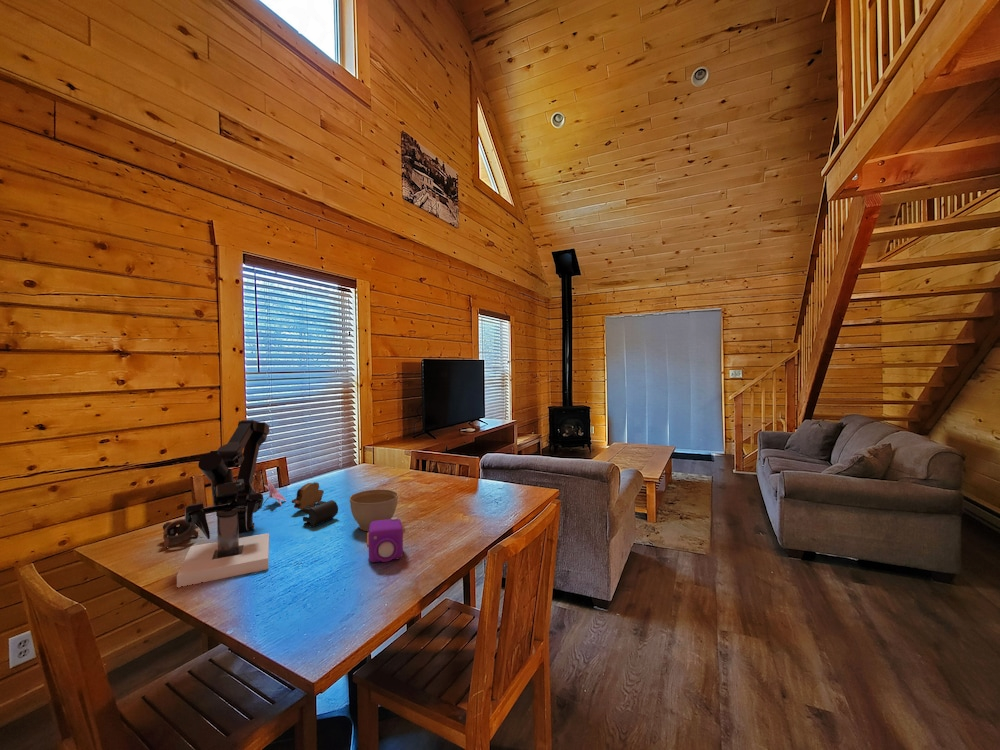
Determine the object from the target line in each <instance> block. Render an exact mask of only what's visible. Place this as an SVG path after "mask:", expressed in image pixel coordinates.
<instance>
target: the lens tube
mask: <svg viewBox="0 0 1000 750" xmlns="http://www.w3.org/2000/svg"><path fill="white" fill-rule="evenodd" d="M215 513H216V518H217V520H216V521H217V522H216V525H217V526H216V527H217V531H216V532H217V542H218V558H223V557H229V556H234V555H239V538H240V536H239V533H240V532H239V523H238V513H239V507H226V508H222V509H219V510H217V511H216V512H215Z"/></svg>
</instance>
